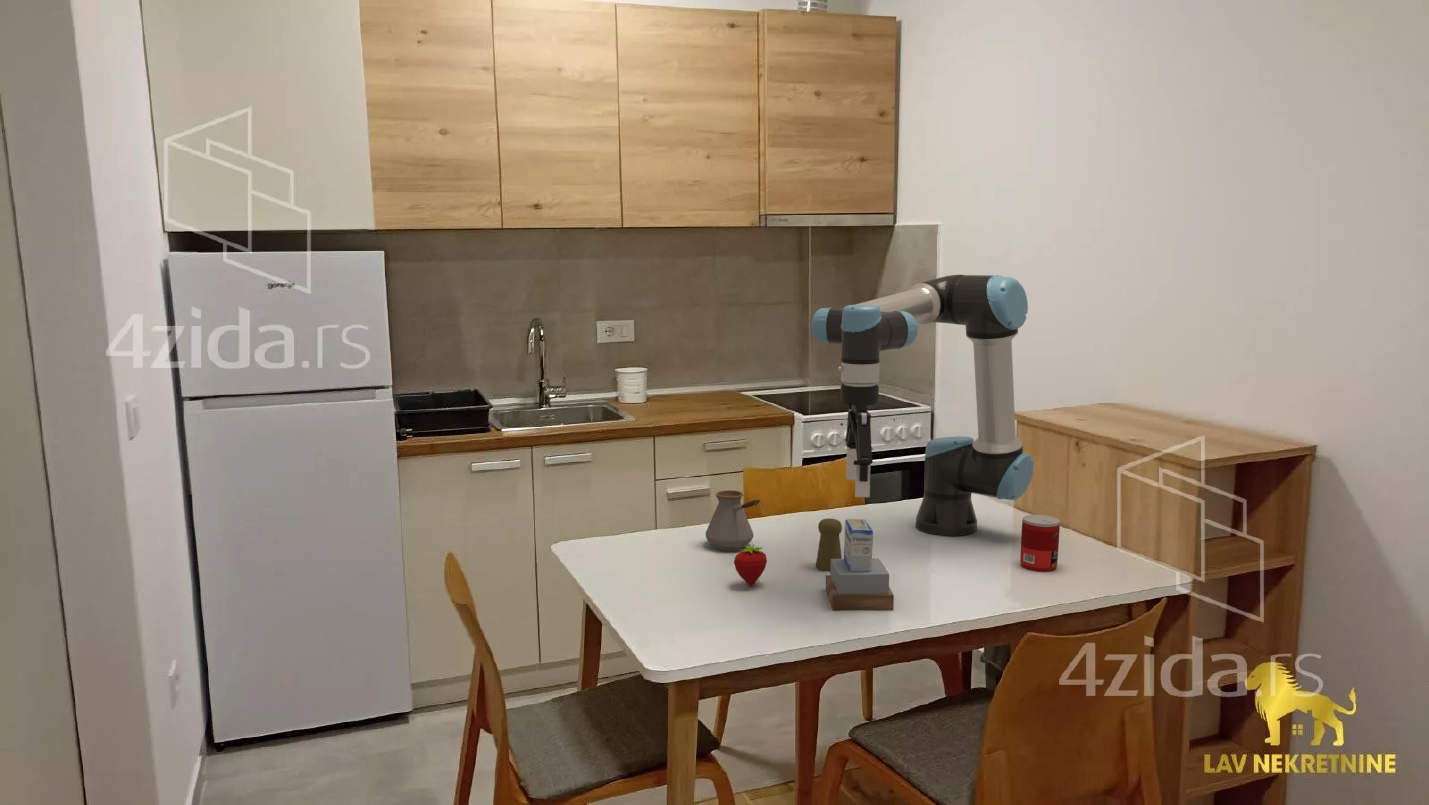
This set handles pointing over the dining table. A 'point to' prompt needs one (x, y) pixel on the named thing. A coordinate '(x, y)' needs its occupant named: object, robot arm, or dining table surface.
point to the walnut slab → (858, 599)
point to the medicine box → (858, 545)
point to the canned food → (1039, 542)
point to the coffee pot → (730, 522)
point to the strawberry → (750, 564)
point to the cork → (828, 543)
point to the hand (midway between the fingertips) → (857, 488)
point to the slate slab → (859, 578)
